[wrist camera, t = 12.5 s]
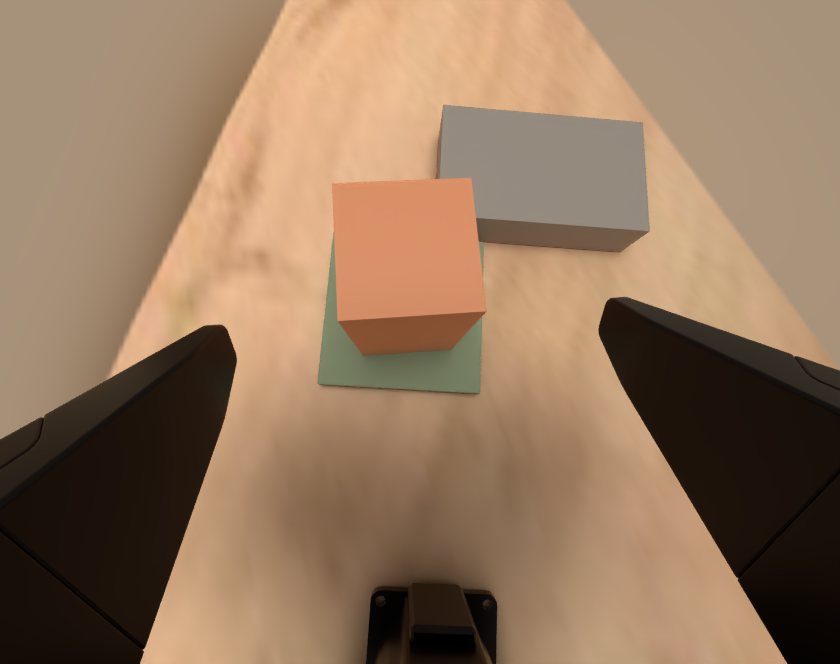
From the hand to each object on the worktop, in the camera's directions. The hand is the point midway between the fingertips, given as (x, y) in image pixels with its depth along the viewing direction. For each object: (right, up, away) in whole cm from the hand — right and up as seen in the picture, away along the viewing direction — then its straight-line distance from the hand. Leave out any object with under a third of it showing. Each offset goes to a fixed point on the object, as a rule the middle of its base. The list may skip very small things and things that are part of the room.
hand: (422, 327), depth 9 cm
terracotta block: (-1, +1, +13) cm, 13 cm away
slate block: (+7, +9, +16) cm, 20 cm away
